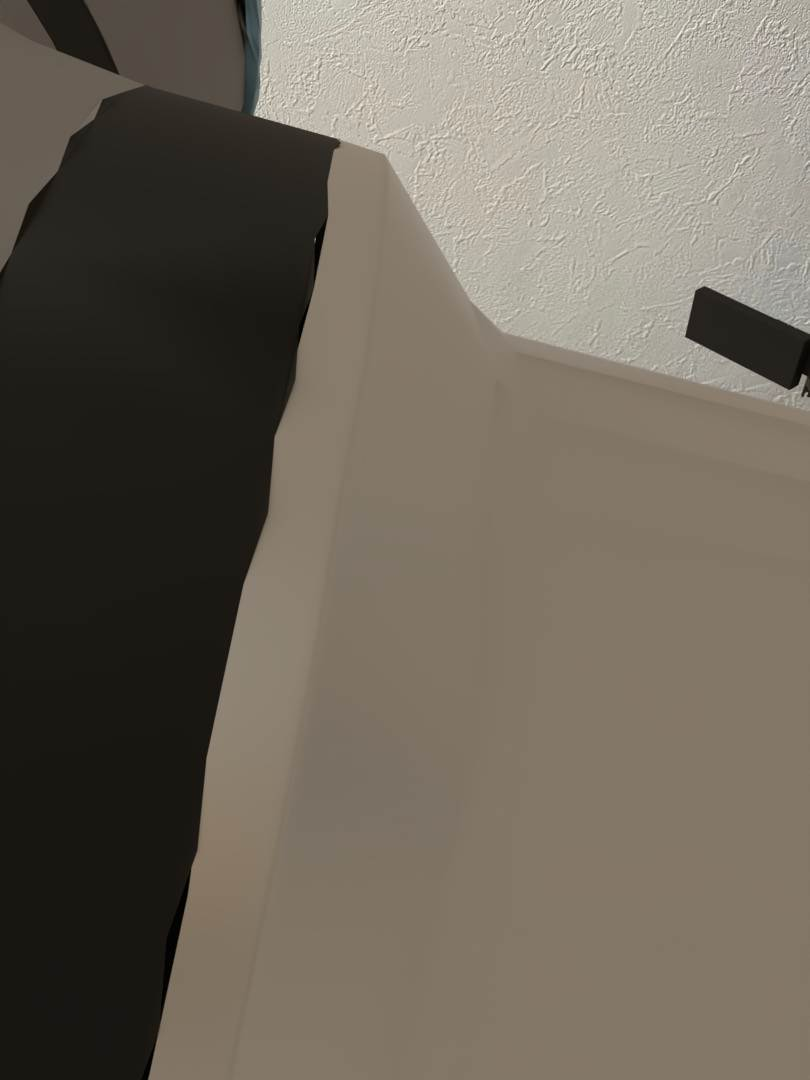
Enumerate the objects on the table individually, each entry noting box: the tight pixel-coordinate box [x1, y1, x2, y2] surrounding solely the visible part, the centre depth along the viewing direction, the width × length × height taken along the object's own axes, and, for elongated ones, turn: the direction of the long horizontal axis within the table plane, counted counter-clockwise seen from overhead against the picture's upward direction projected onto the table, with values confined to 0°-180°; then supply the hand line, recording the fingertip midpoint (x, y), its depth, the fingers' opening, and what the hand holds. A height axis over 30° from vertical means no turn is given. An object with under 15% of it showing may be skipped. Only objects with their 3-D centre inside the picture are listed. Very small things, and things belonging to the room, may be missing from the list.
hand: (604, 353), depth 47 cm, fingers open, 13 cm apart
